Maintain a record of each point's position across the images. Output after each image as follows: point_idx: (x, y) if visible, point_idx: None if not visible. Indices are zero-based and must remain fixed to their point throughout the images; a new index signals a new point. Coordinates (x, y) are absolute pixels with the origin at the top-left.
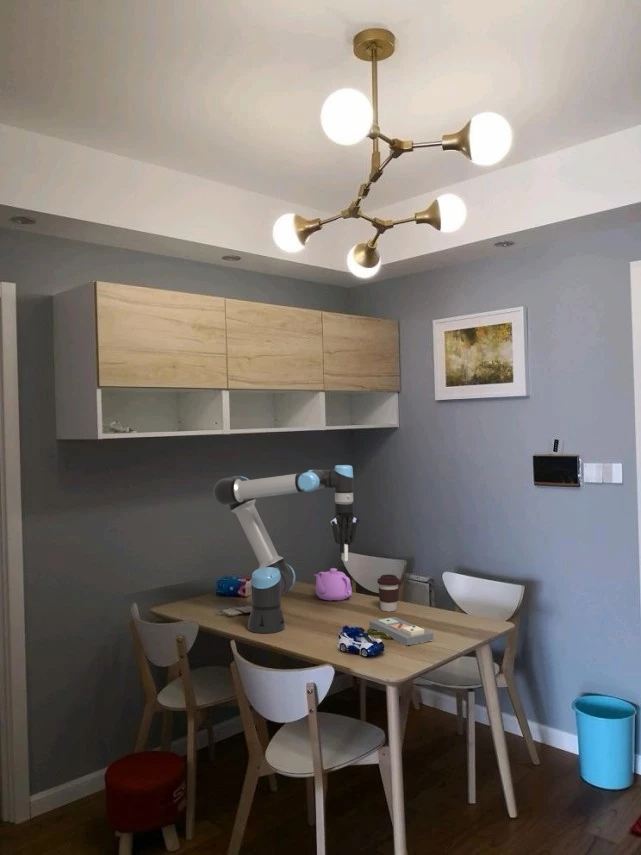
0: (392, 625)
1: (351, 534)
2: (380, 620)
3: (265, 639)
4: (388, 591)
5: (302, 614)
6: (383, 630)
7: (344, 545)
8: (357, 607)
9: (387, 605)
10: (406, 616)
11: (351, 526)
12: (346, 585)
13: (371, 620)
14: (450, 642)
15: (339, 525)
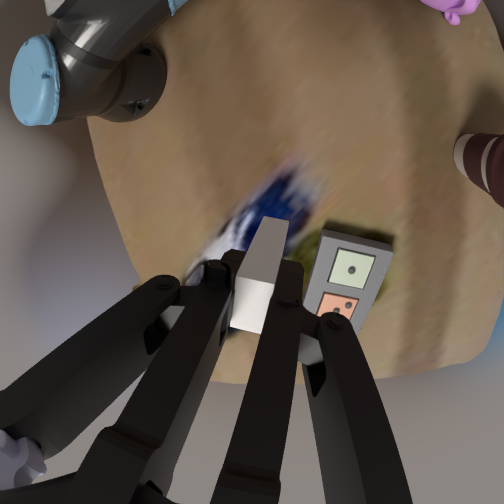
0: (329, 297)
1: (320, 411)
2: (341, 256)
3: (101, 151)
4: (481, 184)
5: (260, 20)
6: (307, 286)
7: (231, 321)
8: (430, 73)
9: (462, 169)
10: (452, 223)
11: (356, 492)
12: (461, 2)
13: (328, 237)
14: None
15: (104, 462)
